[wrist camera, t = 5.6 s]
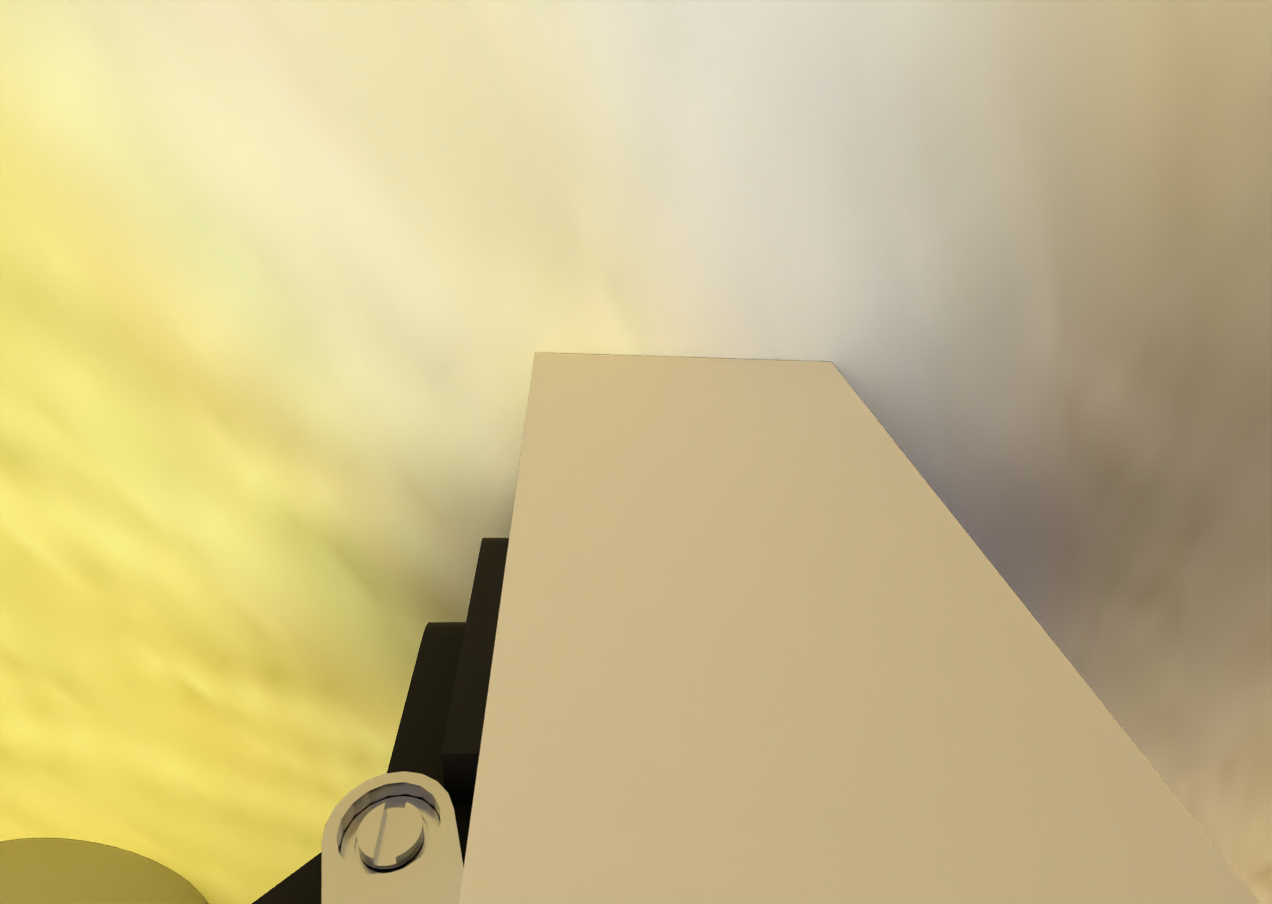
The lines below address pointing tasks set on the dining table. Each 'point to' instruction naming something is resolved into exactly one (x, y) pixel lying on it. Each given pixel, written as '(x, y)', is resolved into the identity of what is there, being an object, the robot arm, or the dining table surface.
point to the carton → (784, 672)
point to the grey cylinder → (86, 875)
